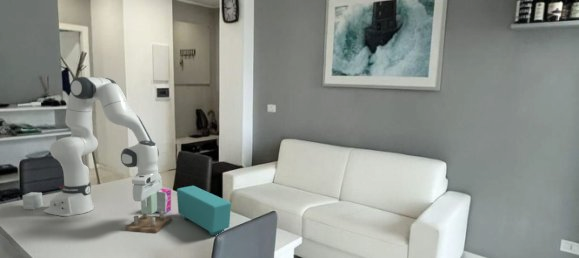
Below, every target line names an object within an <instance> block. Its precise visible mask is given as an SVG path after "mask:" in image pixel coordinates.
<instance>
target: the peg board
mask: <svg viewBox="0 0 579 258" xmlns="http://www.w3.org/2000/svg"><path fill="white" fill-rule="evenodd" d="M142 214H143V213H142ZM158 214H159V216H157V215H149V214H143V215H141V216H140V217H139V215H135V216H133V221H132V222H131V223H130V224H127V225H126V226H125V229H124V230H125V231H129V232H141V233H151V234H157V233H158V232H160V231H161V230H162V229H163V228H164V227H166V226H167V225H168V224H169V223H170V222H171V221H172V217H171V216H165V214H164V211H159V213H158Z"/></svg>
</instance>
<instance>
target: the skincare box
mask: <svg viewBox="0 0 579 258" xmlns="http://www.w3.org/2000/svg"><path fill="white" fill-rule="evenodd" d="M22 205H23V206H22V207H23V210H37V209H39V208H41V207H43V206H44V204H43V193H42V192H33V191H31V192H29V193H25V194H23V195H22Z"/></svg>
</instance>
